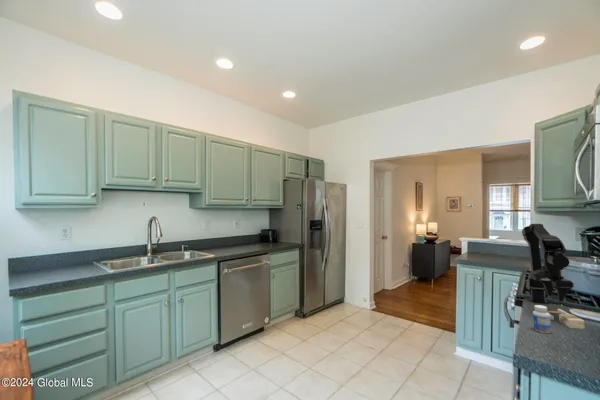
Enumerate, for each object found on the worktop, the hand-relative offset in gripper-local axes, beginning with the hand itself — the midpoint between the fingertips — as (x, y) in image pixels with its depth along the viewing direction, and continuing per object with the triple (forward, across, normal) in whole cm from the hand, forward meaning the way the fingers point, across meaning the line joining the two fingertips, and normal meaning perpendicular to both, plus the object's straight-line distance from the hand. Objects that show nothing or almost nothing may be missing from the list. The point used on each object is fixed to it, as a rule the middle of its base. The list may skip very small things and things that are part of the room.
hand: (555, 298), depth 129 cm
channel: (+8, -1, 0) cm, 8 cm away
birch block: (+8, +11, 0) cm, 14 cm away
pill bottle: (+8, +20, -14) cm, 26 cm away
